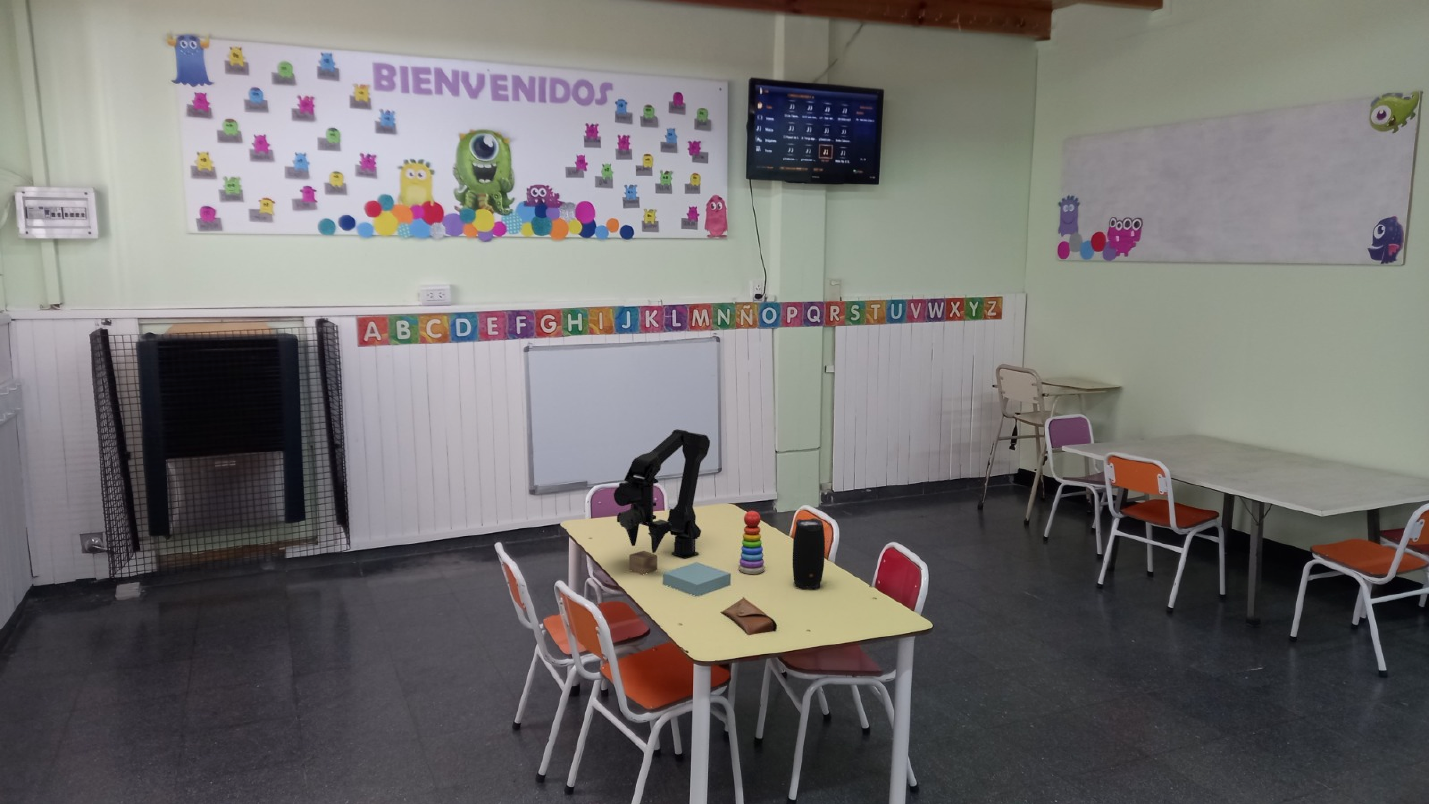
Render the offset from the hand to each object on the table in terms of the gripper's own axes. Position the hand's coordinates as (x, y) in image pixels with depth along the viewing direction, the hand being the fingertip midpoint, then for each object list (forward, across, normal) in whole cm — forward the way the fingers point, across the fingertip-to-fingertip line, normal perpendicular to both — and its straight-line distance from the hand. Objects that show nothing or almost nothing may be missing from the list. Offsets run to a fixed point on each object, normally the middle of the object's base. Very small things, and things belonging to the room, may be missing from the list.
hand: (643, 549), depth 289 cm
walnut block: (+7, 0, 0) cm, 7 cm away
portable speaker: (+7, +43, +26) cm, 51 cm away
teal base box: (+7, +20, +3) cm, 21 cm away
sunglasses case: (+7, +49, -7) cm, 50 cm away
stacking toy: (+7, +23, +24) cm, 34 cm away
